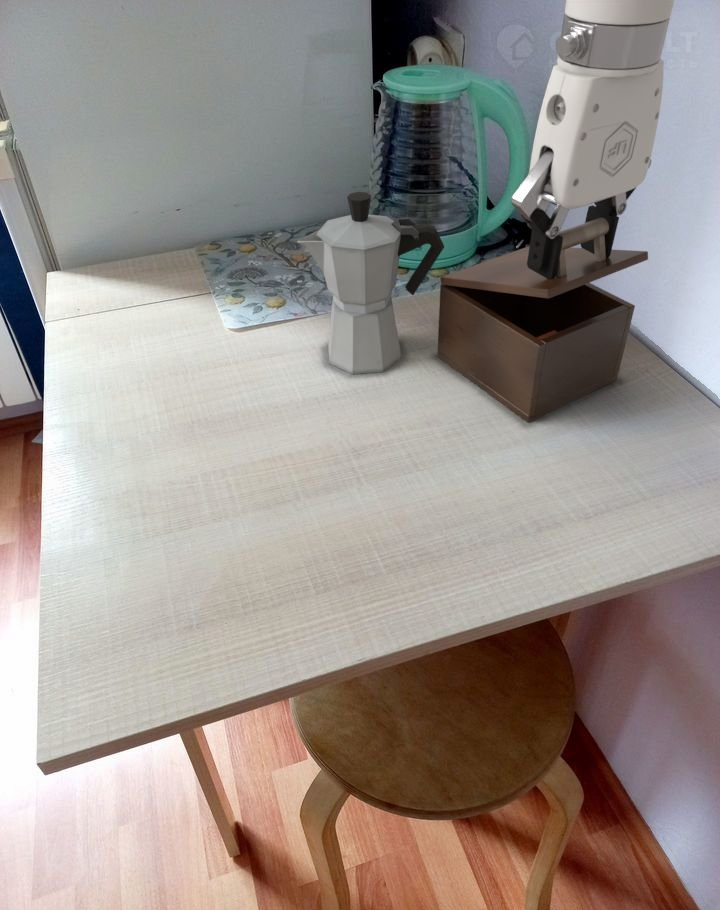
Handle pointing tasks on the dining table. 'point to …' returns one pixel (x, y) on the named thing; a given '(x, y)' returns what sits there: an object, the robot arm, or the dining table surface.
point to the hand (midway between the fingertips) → (568, 260)
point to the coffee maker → (367, 281)
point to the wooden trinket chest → (534, 343)
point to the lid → (572, 267)
